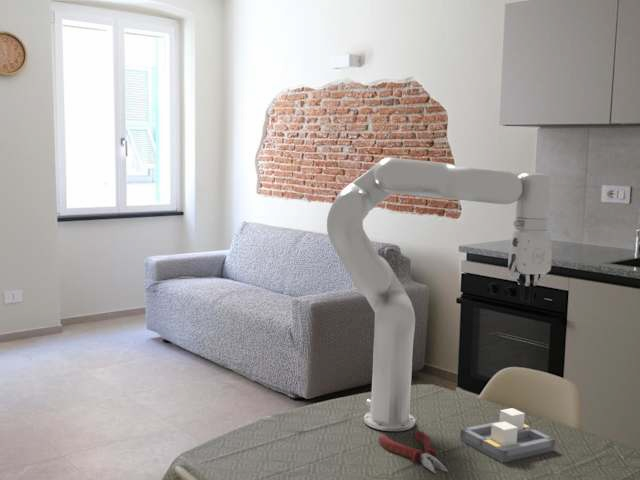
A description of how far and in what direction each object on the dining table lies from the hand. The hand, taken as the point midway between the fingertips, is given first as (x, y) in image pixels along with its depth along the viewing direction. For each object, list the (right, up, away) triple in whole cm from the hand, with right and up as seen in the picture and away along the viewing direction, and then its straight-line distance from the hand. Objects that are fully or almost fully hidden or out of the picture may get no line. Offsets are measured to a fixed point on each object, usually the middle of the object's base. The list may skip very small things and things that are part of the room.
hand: (526, 301), depth 178 cm
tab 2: (-8, -32, -10) cm, 35 cm away
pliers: (-29, -34, -13) cm, 46 cm away
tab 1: (-4, -31, -1) cm, 31 cm away
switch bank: (-6, -33, -6) cm, 34 cm away
